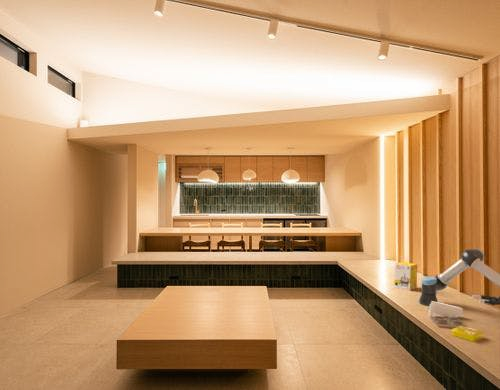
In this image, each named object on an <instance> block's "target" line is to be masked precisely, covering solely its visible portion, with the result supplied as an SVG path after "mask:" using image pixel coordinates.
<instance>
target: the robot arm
mask: <svg viewBox="0 0 500 390" xmlns="http://www.w3.org/2000/svg"><path fill="white" fill-rule="evenodd" d="M484 259H485V254H484V253H483V251H482V250H481V249H479V248H469V249H464V250H463V251H462V252H461V253H460V259H458V260H457V261H456V262H455V263H453V264H452V265H451V266H449V267H448V268H447V269H446V270H444V271H443V272H442V273H438V274H436V275H435V276H429V275H427V276H423V277H422V278H421V295H420V296H419V299H418V300H419V301H418V302H419V304H420V305H424V306H427V307H429V306H430V304H431V301H434V302H438V298H437V291H442V290H445V289H446V288H447V286H448V285H450V282H451V281H452V280H453V279H454V278H456V277H457V276H459V275H460V274H461V273H462V272H464V271H466V270H467V269H468V268H469V267H470V268H471V269H474V270H475V271H477V272H479V273H480V274H481V275H483V276H484V277H485V278H487V280H489V281H491V282H492V283H493V284H494V285H496V286H498V287H499V288H500V273H498V272H497V271H495V270H494V269H493V268H491V267H490V266H489V265H487V264H485V263H484V262H483V261H484ZM471 299H473V300H474V299H475V300H479V301H478V303H479V304H486V305H491V306H500V295H499V296H498V297H496V296H491V295H484V294H480V295H477V294H472V295H471Z"/></svg>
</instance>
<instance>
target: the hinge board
mask: <svg viewBox="0 0 500 390" xmlns="http://www.w3.org/2000/svg"><path fill="white" fill-rule="evenodd" d="M430 320H431V321H432V322H433V323H434V324H436V326H437V327H438V328H441V329H442V328H443V329H451V330H452V329H453V328H456V327H459V326H465V327H468V328H470V327H469V326H468V325H467V324H465V323H464V322H463V321H462V320H461V319H460V318H458V317H445V316H442V315H434V316H433V315H432V316H431V317H430Z"/></svg>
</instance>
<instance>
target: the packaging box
mask: <svg viewBox="0 0 500 390" xmlns="http://www.w3.org/2000/svg"><path fill="white" fill-rule="evenodd" d="M393 282H394V284H393V285H394V286H393V287H394V288H396V289H400V290H406V291H413V290H415V288H416V289H417V287H418V286H417V285H418V283H417V282H418V264H417V263H411V262H404V261H401V262H396V263H394V281H393ZM412 289H413V290H412Z"/></svg>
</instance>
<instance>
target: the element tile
mask: <svg viewBox="0 0 500 390" xmlns="http://www.w3.org/2000/svg"><path fill="white" fill-rule="evenodd" d="M468 327H469V326H468ZM468 327H465V326H459V327H456V328H453V329H451V335H452V336H453V337H457V338H460V339H463V340H466V341H469V342H472V343H477V342H479V341H481V340H483V339H484V338H485V337H484V335H485V333H484V331H481V330H479V329H475V328H471V327H469V328H468Z"/></svg>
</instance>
